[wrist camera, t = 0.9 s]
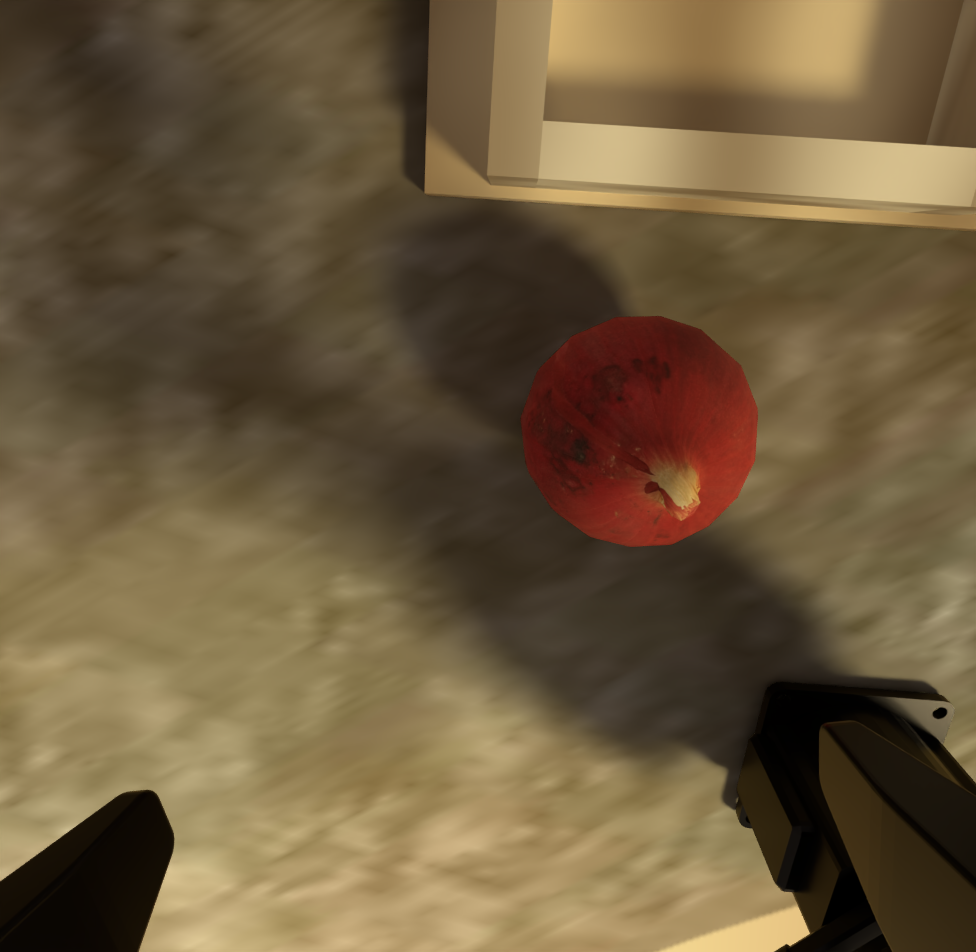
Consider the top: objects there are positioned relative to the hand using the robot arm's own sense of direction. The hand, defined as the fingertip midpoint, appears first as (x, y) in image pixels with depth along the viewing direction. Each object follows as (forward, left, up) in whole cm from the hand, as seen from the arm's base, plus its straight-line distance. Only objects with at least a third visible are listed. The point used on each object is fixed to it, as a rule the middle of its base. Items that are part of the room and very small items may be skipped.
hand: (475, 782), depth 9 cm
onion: (-3, -3, -13) cm, 14 cm away
